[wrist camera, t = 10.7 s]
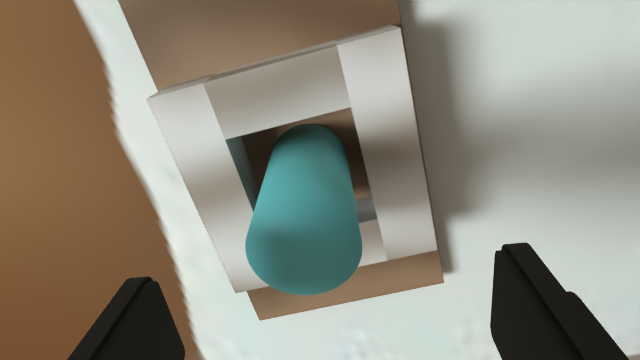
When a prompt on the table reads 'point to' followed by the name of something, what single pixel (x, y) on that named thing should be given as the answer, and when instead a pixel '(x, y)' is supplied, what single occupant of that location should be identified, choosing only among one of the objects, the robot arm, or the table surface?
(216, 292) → the table surface
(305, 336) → the table surface
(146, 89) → the table surface
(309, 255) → the peg
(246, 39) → the socket board
